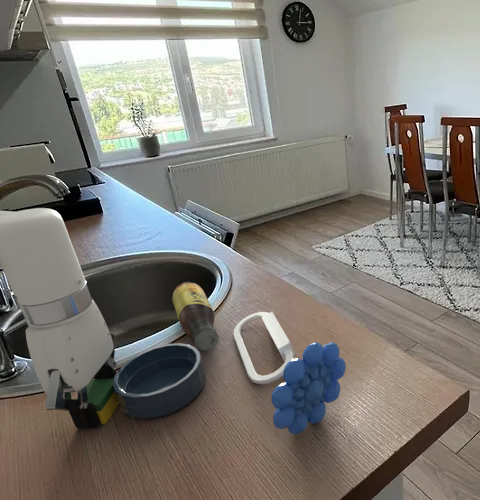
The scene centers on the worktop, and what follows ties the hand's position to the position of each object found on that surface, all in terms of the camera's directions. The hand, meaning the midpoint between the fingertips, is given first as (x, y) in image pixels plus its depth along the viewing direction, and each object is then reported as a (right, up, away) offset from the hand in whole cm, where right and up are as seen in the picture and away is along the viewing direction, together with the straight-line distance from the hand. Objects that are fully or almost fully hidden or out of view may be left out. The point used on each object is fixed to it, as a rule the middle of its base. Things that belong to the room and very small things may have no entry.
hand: (101, 408), depth 61 cm
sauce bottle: (+2, +14, +26) cm, 29 cm away
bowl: (+8, +2, +3) cm, 9 cm away
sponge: (0, 0, 0) cm, 0 cm away
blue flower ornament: (+31, 0, -4) cm, 32 cm away
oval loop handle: (+22, +6, +11) cm, 25 cm away
